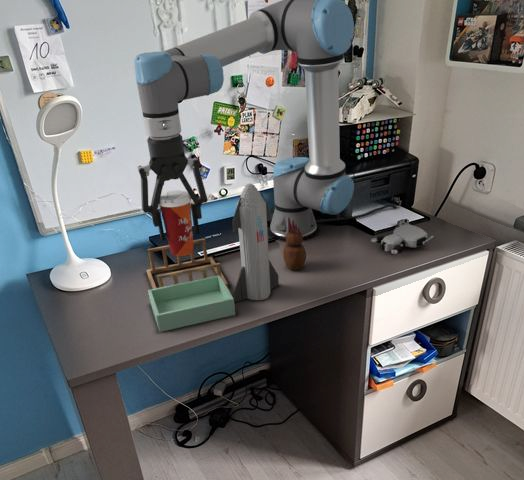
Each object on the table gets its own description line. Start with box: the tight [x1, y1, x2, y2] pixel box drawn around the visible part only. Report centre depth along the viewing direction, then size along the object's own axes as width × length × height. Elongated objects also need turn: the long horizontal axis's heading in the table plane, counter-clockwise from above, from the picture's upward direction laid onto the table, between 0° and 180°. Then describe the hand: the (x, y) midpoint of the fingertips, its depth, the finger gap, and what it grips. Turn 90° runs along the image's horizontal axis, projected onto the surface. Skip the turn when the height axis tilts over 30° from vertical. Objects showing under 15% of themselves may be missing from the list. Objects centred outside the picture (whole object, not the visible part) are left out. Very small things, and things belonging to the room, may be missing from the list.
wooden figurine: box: [282, 217, 307, 271], centre depth 149 cm, size 7×6×15 cm
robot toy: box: [371, 222, 434, 255], centre depth 159 cm, size 12×4×15 cm
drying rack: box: [145, 238, 229, 289], centre depth 149 cm, size 20×18×8 cm
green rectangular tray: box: [147, 274, 236, 333], centre depth 136 cm, size 20×14×5 cm
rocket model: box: [231, 183, 279, 303], centre depth 134 cm, size 14×7×30 cm, turn 124°
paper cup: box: [158, 189, 195, 257], centre depth 124 cm, size 8×8×14 cm
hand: (179, 234), depth 126 cm, fingers closed on paper cup, 8 cm apart
